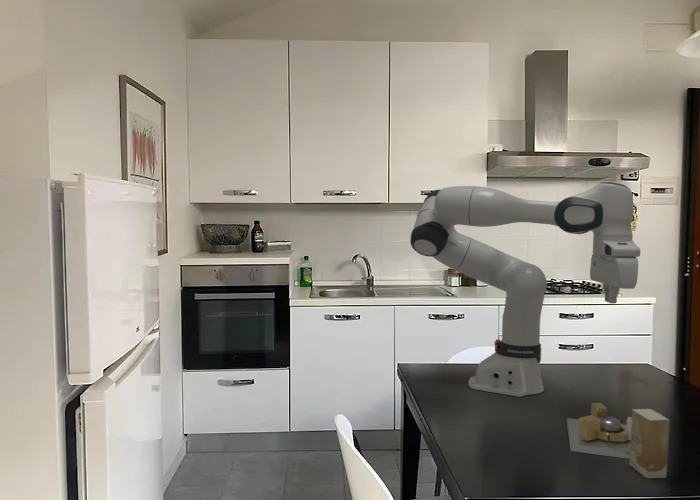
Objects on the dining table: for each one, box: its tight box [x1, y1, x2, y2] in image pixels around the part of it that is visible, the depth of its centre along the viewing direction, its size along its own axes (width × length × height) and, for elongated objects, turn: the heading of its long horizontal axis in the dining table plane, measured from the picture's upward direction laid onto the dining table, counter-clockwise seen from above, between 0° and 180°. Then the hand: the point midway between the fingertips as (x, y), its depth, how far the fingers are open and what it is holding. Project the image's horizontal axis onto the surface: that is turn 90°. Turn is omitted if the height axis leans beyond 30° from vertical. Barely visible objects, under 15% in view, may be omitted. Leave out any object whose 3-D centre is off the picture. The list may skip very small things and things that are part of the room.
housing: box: [566, 415, 631, 460], centre depth 126 cm, size 17×17×5 cm
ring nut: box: [578, 402, 632, 441], centre depth 128 cm, size 14×15×4 cm
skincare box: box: [628, 408, 671, 479], centre depth 111 cm, size 6×4×12 cm
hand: (610, 302), depth 136 cm, fingers closed
